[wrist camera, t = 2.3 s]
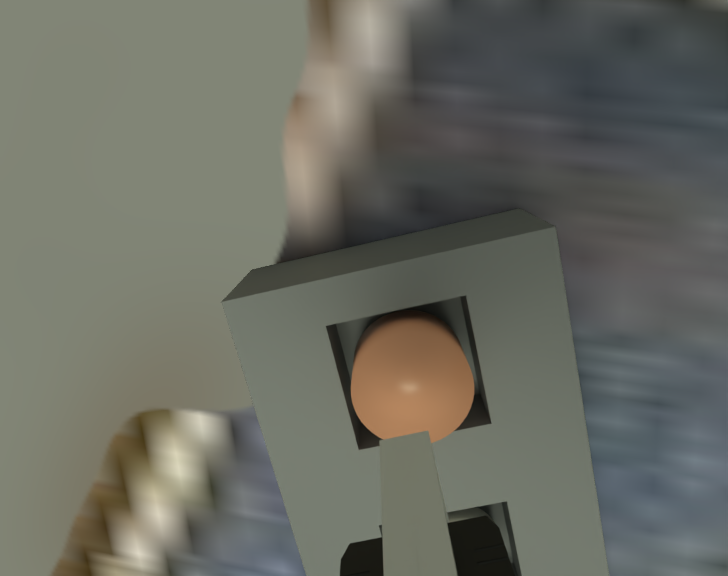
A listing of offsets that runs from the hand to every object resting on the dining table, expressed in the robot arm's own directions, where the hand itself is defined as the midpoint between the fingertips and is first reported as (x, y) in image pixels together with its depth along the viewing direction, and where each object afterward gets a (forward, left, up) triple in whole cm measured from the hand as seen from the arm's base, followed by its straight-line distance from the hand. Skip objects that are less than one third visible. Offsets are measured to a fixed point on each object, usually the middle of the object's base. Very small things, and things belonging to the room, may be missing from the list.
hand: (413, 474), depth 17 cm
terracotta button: (0, 0, -9) cm, 9 cm away
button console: (0, +10, -14) cm, 17 cm away
